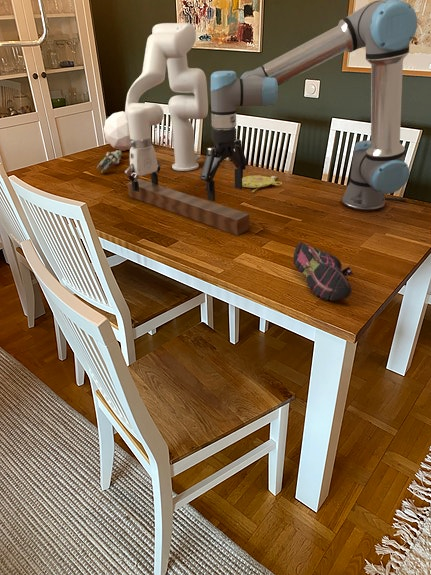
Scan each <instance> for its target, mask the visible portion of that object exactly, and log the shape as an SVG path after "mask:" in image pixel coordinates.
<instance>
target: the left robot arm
mask: <svg viewBox="0 0 431 575" xmlns="http://www.w3.org/2000/svg"><path fill="white" fill-rule="evenodd" d="M151 32H152V34H151V33H150V35H148V37H147V40H146V45H145V51H144V58H143V64H142V71H141V74H140V75H139V77H137V78H136V79H135V81H134V82H133V83H132V84H131V86H130V88H129V89H128V91H127V94H126V99H125V107H124V112H125V116H126V119H127V121H128V124H129V132H130V141H131V142H130V143H129V146H131V148H130V149H129V166H128V167H127V168H126V169H125V170H124V174H125V176H126V178H127V179H128V180H129V181H130V182H132V188H133V190H134V191H137V192H138V191H139V184H138V181H137V180H138V179H139V177H143V176H146V175H149V174H150V178H151V183H153V184H156V185H159V174H160V170H161V166H162V161H161V160H158V158H157V155H156V149H155V147H154V145H153V144H152V137H151V127H152V126H158V125H159V124H160V123H162V121H163V119H164V117H165V116H164V113H165V112H164V110H163V107H161V106H160V105H159V104H157V103H147V102H139V101H140V98H141V97H142V96H143V95H144V93H145V92H147V91H148V90H151V89H152V88H154V87H157V86H158V85H160V84H163V82H164V81H165V78H166V72H167V77H168V83H169V88H170V91H172V92H174V93H180V94H177V95H173V96H171V97H170V99H169V100H168V112H169V116H170V121H171V129H172V142H173V154H174V163H172V164H171V169H172V170H174V171H177V172H189V171H190V172H191V171H194V170H197V169H198V168H199V167H200V165H199V163H198V162H197V161H198V160H200V159H201V158H202V156H201V155H200V154H197V155H196V152H195V150H196V148H195V131H194V125H193V124H192V122H191V121H190V120H203V119H205V118H207V117H208V113H209V100H208V99H209V98H208V84H207V83H208V82H207V76H206V74H205V72H204V70H202V69H201V68H199V67H194V68H193V67H189V66H188V65H189V64H188V57H187V54H188V52H189V51H190V50H191V49H192V48H193V47H194V46H195V43H196V40H197V39H196V38H197V32H196V29H195V26H194V25H193V24H192V23H189V22H162V23H157V24H155V25H153V26H152V29H151ZM181 93H182V94H181ZM188 94H189V95H188ZM190 94H193V95H190Z"/></svg>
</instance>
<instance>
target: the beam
mask: <svg viewBox="0 0 431 575" xmlns="http://www.w3.org/2000/svg"><path fill="white" fill-rule="evenodd" d="M137 181H138V184H139V191H138V192H137V191H134V190H133V188H132V181H129V182H127V184H126V185H127V192H128V197H129V198H133V199H134V200H135V199H136V200H138V201H141V202H143V203H146V204H149V205H152V206H155V207H157V208H160V209H163V210H165V211H168V212H172V213H174V214H177V215H179V216H182V217H185V218H188V219H191V220H193V221H196V222H199V223H201V224H205V225H207V226H210V227H212V228H215V229H218V230H220V231H221V230H222V231H224V232H227V233H229V234H232V235H234V236H239V235H241V234H243V233H245V232H247V231H249V230H250V213H247V212H244V211H241V210H238V209H235V208H232V207H229V206H225V205H222V204H219V203H216V202H214V201H211V200H208V199H204V198H200V197H197V196H194V195H192V194H191V195H190V194H187V193H185V192H181V191H178V190H176V189H173V188H170V187H169V188H168V187H166V186H162V185H160V184H158V185H156V184H153V183H152V182H150V181H147V180H144V179H141V178H138V179H137Z"/></svg>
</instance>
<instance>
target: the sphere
mask: <svg viewBox="0 0 431 575" xmlns="http://www.w3.org/2000/svg"><path fill="white" fill-rule="evenodd" d="M103 134H104V138H105V141H106V142H107V143H108V144H109V145H110V146H111V147H112V148H113V149H115V150H118V151H119V150H120V151H121V152H125V151H128V150H130V148H131V146H129V143H130V142H131V141H130V132H129V124H128V121H127V119H126V116H125V111H123V110H122V111H118V112H117V111H116V112H113V113H112V114H111V115H110V116H108V117H107V118H106V119H105V121H104V126H103Z"/></svg>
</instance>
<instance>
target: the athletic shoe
mask: <svg viewBox="0 0 431 575" xmlns="http://www.w3.org/2000/svg"><path fill="white" fill-rule="evenodd" d="M292 263H293V266H294V265H295V266H294V267H295V268H296V270H298V272H300V273H302V274H303V275H304V276H305V277H306V283H307V286H308V288H309V289H310V290H311V291H312V294H314V295H315V296H316V297H319V299H324V300H326V301H328V300H330V301H339V300H343V299H347V298H348V297H349V296H351V294H352V287H351V284H350V283H349V280H348V279H347V277H348V276H351V275H353V276H354V275H355V274H354V273H353V270H352V269H351V267H349V266H348V267H345V268H343V264H342V262H341V260H340V259H339V258H338V257H336V256H335V255H333V254H331V253H329V252H327V251H323V250H321V249H319V248H315V247H312V246H311V245H309V244H307V243H306V242H299V243H298V244H296V247H295V249H294V252H293V258H292Z"/></svg>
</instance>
